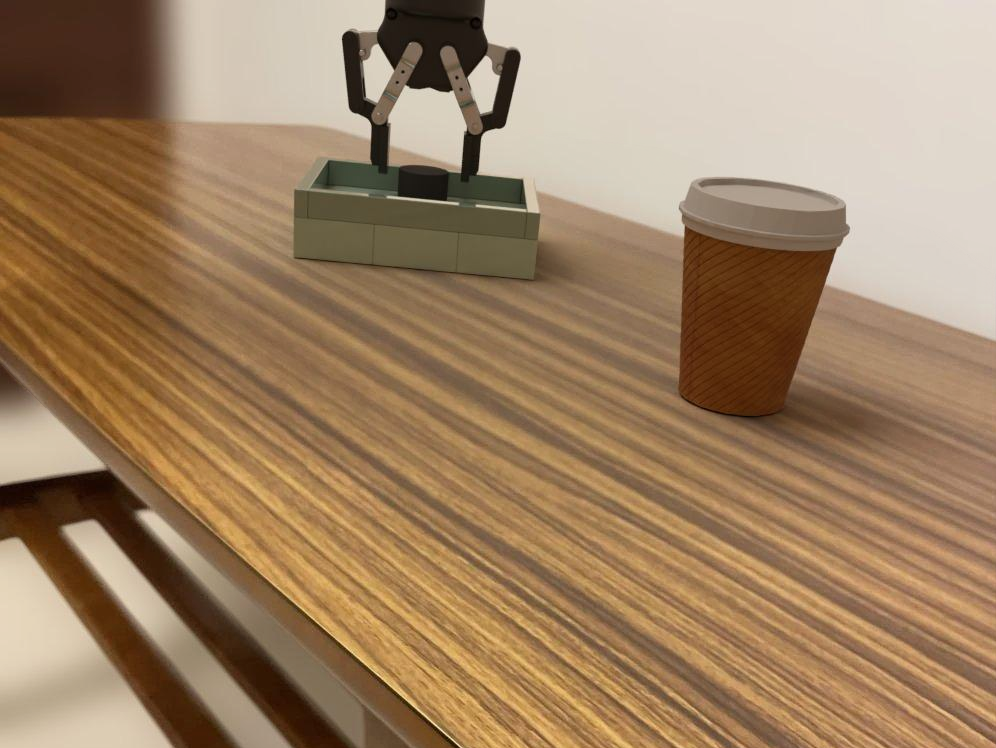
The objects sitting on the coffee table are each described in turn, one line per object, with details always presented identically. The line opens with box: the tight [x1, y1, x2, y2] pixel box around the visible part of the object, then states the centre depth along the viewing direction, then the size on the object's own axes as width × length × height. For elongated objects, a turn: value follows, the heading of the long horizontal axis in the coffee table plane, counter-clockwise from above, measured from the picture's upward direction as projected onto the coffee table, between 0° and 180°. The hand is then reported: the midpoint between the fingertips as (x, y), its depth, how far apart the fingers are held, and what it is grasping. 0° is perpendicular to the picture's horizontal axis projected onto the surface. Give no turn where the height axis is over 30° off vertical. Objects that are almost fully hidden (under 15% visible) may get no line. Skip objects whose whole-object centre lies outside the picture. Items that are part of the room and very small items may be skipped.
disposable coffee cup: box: [678, 176, 851, 417], centre depth 71 cm, size 10×10×12 cm
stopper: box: [397, 164, 449, 202], centre depth 100 cm, size 4×4×6 cm
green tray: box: [292, 184, 539, 281], centre depth 98 cm, size 18×15×3 cm
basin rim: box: [293, 156, 541, 240], centre depth 97 cm, size 18×14×2 cm
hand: (424, 175), depth 99 cm, fingers open, 6 cm apart
